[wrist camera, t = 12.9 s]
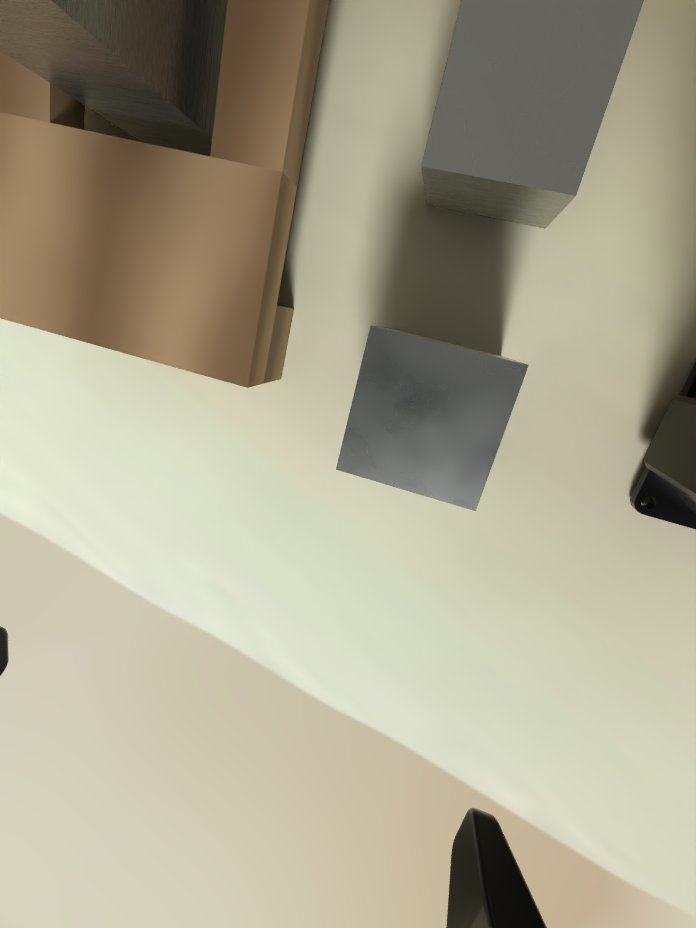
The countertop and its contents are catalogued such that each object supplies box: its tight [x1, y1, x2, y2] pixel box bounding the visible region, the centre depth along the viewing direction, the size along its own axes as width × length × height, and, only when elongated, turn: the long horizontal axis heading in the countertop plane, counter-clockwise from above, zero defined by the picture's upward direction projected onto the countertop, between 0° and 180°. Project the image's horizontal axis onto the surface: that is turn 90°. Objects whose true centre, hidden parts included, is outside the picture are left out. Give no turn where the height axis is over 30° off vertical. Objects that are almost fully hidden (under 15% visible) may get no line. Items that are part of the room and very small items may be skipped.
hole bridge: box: [0, 0, 329, 388], centre depth 15 cm, size 11×20×4 cm, turn 166°
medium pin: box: [336, 326, 528, 511], centre depth 15 cm, size 4×4×6 cm
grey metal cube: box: [422, 0, 644, 228], centre depth 14 cm, size 4×4×4 cm
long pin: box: [0, 0, 228, 156], centre depth 13 cm, size 4×4×9 cm
